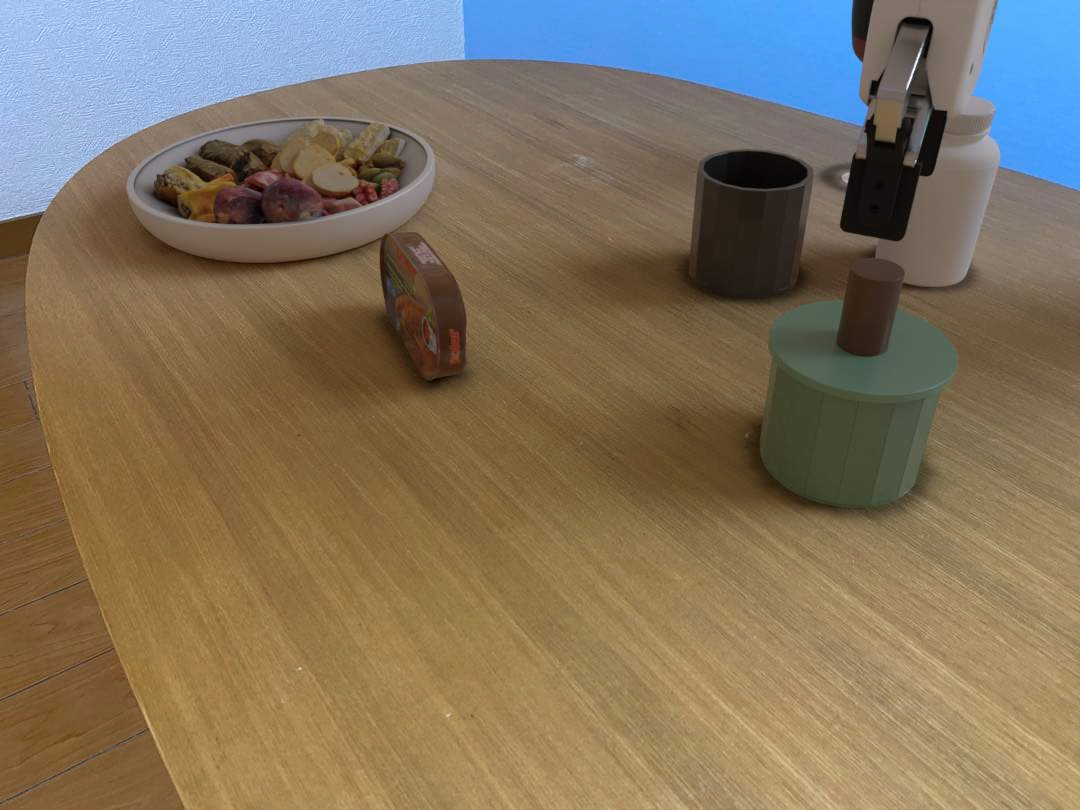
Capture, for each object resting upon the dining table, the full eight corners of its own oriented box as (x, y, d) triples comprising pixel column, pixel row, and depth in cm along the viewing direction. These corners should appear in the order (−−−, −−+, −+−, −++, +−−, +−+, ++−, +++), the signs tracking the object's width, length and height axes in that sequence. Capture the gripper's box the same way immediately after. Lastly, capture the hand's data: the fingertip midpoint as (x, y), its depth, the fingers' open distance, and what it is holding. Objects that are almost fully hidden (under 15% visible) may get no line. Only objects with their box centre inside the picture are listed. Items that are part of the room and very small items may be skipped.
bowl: (142, 178, 105) (123, 107, 100) (406, 145, 112) (399, 78, 108) (135, 300, 81) (110, 216, 77) (469, 249, 89) (464, 169, 84)
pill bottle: (902, 295, 80) (943, 122, 72) (857, 255, 87) (890, 91, 78) (985, 285, 82) (1036, 114, 73) (935, 246, 88) (976, 84, 79)
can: (781, 403, 68) (799, 299, 63) (927, 440, 64) (957, 332, 59) (740, 483, 60) (756, 372, 55) (901, 530, 56) (933, 416, 52)
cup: (744, 244, 89) (757, 141, 83) (818, 283, 82) (838, 174, 77) (667, 270, 85) (675, 163, 79) (739, 313, 78) (753, 200, 73)
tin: (381, 310, 80) (369, 217, 75) (417, 302, 81) (407, 210, 76) (436, 402, 68) (427, 300, 63) (477, 392, 69) (471, 291, 64)
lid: (792, 302, 64) (806, 216, 60) (964, 338, 59) (990, 249, 56) (744, 383, 56) (756, 290, 52) (939, 432, 51) (967, 334, 48)
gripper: (1050, -144, 34) (937, 280, 44) (1070, -173, 47) (979, 161, 56) (841, -151, 37) (778, 249, 47) (913, -177, 49) (852, 142, 59)
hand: (888, 200), depth 51 cm, fingers open, 9 cm apart
